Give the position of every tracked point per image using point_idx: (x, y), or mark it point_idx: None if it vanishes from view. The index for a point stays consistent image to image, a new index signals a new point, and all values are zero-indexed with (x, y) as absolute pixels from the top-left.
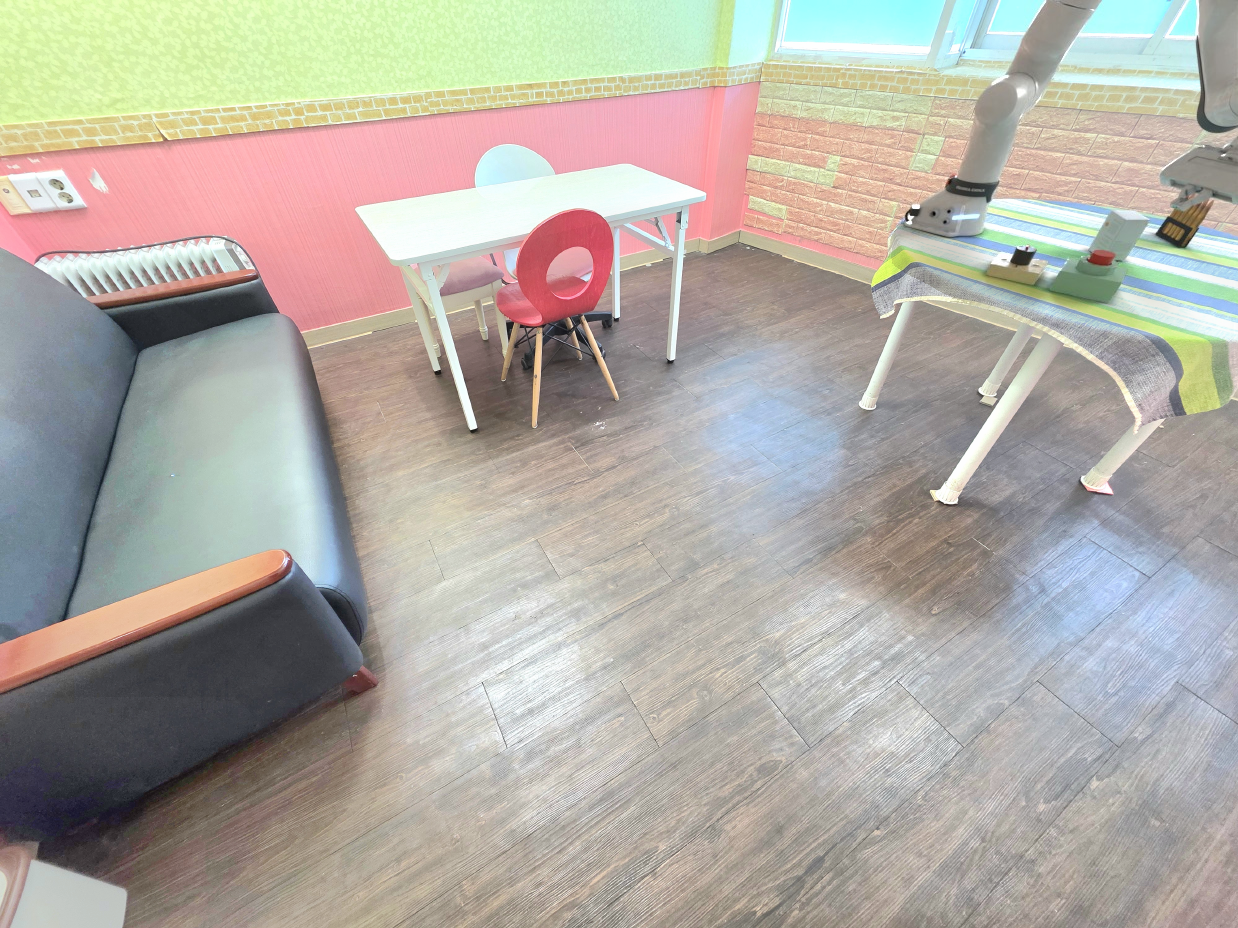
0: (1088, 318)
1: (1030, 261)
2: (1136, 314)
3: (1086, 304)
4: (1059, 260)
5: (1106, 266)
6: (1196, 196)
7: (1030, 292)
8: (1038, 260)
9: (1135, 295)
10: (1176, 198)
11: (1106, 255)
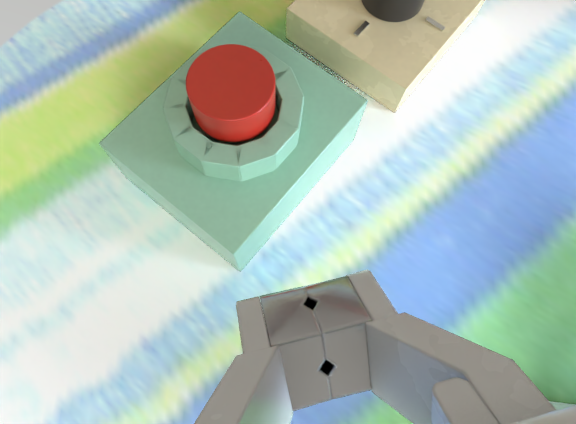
0: (38, 66)
1: (370, 1)
2: (33, 215)
3: (130, 111)
4: (522, 230)
5: (177, 97)
6: (245, 392)
7: (235, 8)
8: (411, 59)
9: (178, 311)
10: (385, 298)
11: (204, 74)
